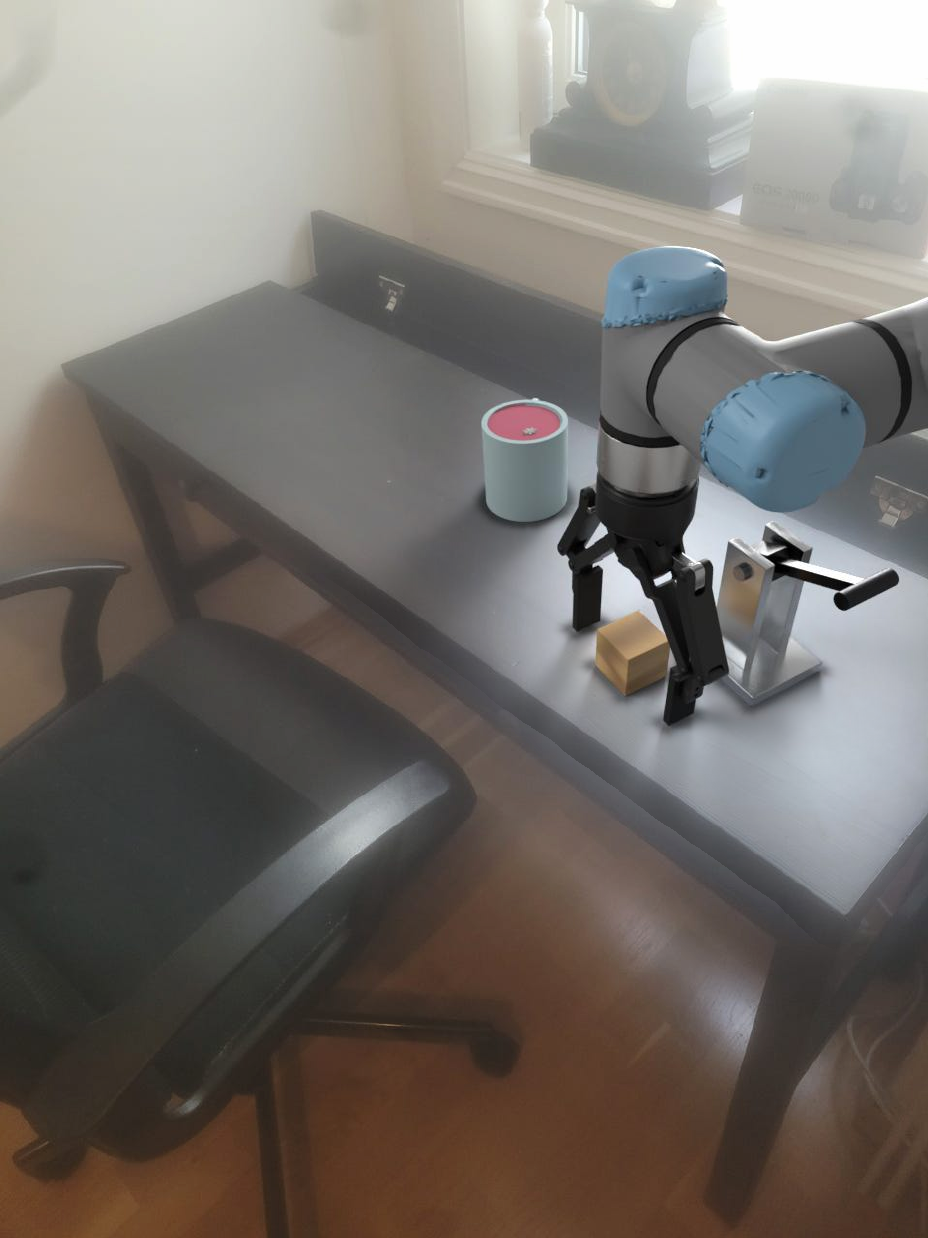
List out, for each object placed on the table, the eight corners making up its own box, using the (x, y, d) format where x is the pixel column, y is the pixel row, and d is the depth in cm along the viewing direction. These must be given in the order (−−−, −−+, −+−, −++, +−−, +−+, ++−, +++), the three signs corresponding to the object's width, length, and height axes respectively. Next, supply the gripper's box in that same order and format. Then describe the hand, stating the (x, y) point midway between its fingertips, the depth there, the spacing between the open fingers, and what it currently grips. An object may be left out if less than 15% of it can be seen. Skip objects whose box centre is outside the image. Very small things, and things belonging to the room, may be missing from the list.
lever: (900, 594, 63) (898, 564, 62) (850, 619, 62) (848, 589, 61) (778, 560, 74) (775, 534, 73) (733, 581, 72) (729, 555, 71)
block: (666, 676, 78) (671, 639, 74) (625, 696, 76) (628, 660, 73) (635, 646, 81) (638, 609, 78) (594, 665, 79) (596, 629, 76)
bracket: (820, 671, 77) (854, 559, 68) (750, 707, 74) (777, 596, 66) (742, 607, 83) (764, 498, 75) (676, 639, 81) (690, 529, 72)
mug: (560, 524, 95) (561, 446, 88) (478, 518, 97) (473, 440, 90) (576, 457, 105) (578, 381, 98) (501, 452, 107) (498, 378, 100)
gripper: (812, 540, 57) (758, 742, 71) (592, 388, 73) (584, 577, 88) (723, 581, 54) (686, 782, 69) (516, 415, 71) (522, 605, 85)
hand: (629, 668), depth 78 cm, fingers open, 13 cm apart
